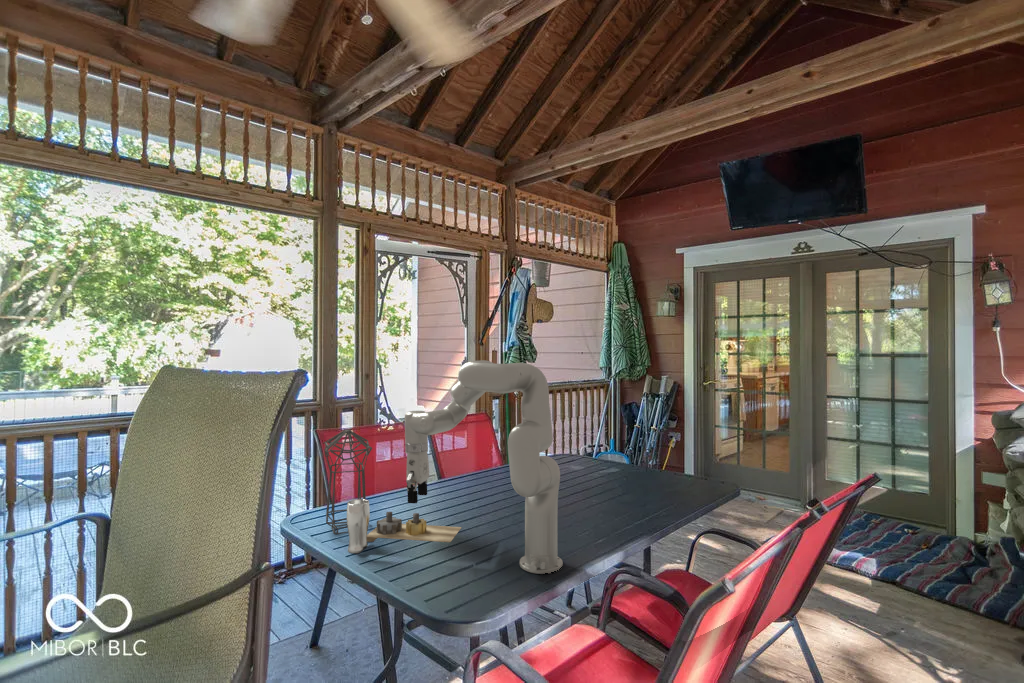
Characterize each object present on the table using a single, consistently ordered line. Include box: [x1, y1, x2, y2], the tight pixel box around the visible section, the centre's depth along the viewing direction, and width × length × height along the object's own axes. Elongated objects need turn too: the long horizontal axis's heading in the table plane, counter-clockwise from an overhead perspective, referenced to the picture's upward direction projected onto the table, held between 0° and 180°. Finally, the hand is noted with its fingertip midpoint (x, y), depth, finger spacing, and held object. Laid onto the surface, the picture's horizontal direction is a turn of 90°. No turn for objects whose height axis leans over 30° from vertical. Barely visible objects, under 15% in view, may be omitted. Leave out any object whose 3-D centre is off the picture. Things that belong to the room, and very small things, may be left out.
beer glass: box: [346, 498, 371, 554], centre depth 162 cm, size 7×7×15 cm
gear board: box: [367, 511, 462, 543], centre depth 174 cm, size 14×29×8 cm, turn 81°
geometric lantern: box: [322, 429, 373, 535], centre depth 180 cm, size 16×16×35 cm
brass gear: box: [405, 518, 427, 536], centre depth 174 cm, size 7×7×4 cm
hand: (417, 498), depth 174 cm, fingers open, 9 cm apart
